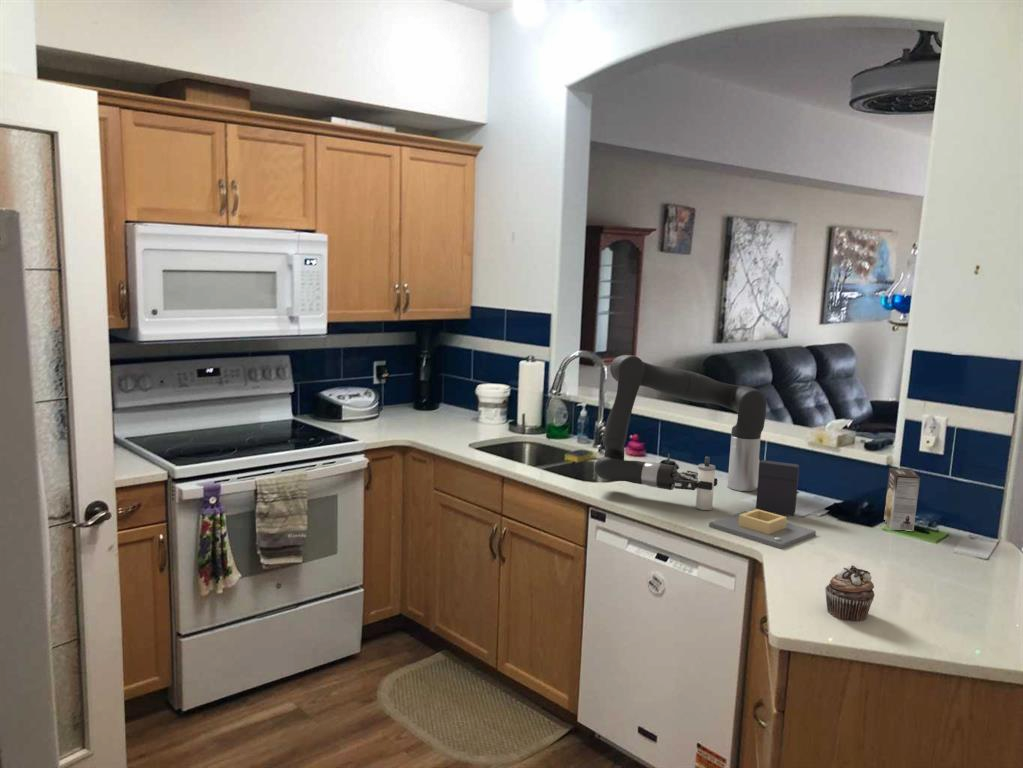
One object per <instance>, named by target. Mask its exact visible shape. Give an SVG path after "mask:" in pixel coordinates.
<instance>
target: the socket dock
mask: <svg viewBox="0 0 1023 768" xmlns="http://www.w3.org/2000/svg"><path fill="white" fill-rule="evenodd" d="M787 519H788V516H785V515H782V514H776V513H770V512H766V511H763V510H759V509H756V508H755V509H754V510H750V511H748V510H744V511H740V512H737V513H734V514H732V515H728V516H725V517H722V518H719V519H716V520H713V521H710V522H709V525H708V527H710V528H713V529H715V530H719V531H721V532H726V533H728V532H729V534H731V533H732V535H735V536H738V535H739V536H738V537H741V536H742V538H744V537H745V539H748V540H751V539H752V541H754V540H755V542H757V541H758V542H757V543H760V542H761V544H764V545H768V546H771V547H773V548H777V549H780V550H781V549H784V548H787V547H789V546H792V545H793V544H796V543H799V542H802V541H804V540H806V539H809V538H812V537H815V536H816V534H817V533H816V532H817V531H816V530H814V529H811V528H807V527H804V526H800V525H797V524H793V523H790V522H787V521H788V520H787Z"/></svg>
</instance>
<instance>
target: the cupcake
mask: <svg viewBox="0 0 1023 768" xmlns="http://www.w3.org/2000/svg"><path fill="white" fill-rule="evenodd" d="M872 578H873V577H872V576H871V573H870V571H867V570H865V569H863V568H862V569H861V568H858V567H856V566H855V565H849V566H847V567H843V569H842V570H841V571H839V572H838V573H836V574H834V576H832V577H831V579H830V581H829V582H828V585H826V586H825V588H824V589H825V591H824V592H825V599H826V609H827V613H828V614H829V615H831V616H832V617H833V618H836V619H838V620H842V621H846V622H862V621H865V620H866V619H867V617H868V615H869V612H870V609H871V606H872V603H873V601H874V598H875V591H874V588H875V586H874V582H872Z"/></svg>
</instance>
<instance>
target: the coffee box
mask: <svg viewBox="0 0 1023 768" xmlns="http://www.w3.org/2000/svg"><path fill="white" fill-rule="evenodd" d="M888 469H889V470H888V478H887V486H886V497H885V505H884V506H885V508H884V515H883V521H884V520H885V521H884V522H885V524H886V523H887V524H886V525H887V526H889V527H888V528H889V530H890V531H894V530H912V531H915V521H916V513H917V508H918V507H917V505H918V498H919V489H920V480H921V477H920V476H919V475H918V474H917V473H916V472H915V470H914V469H911V468H900V467H898V468H895V467H889V468H888Z"/></svg>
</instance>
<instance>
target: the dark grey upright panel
mask: <svg viewBox="0 0 1023 768" xmlns="http://www.w3.org/2000/svg"><path fill="white" fill-rule="evenodd" d="M799 473H800V464H797V463H789V462H780V461H773V460H767V459H766V460H765V459H761V460H760V463H759V473H758V487H757V489H756V491H757V492H756V501H755V502H756V504H755V510H756V509H759V510H763V511H766V512H770V513H774V514H777V515H781V516H791V517H794V516H795V514H796V510H797V509H796V507H797V498H798V495H797V494H798V486H799Z"/></svg>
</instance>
